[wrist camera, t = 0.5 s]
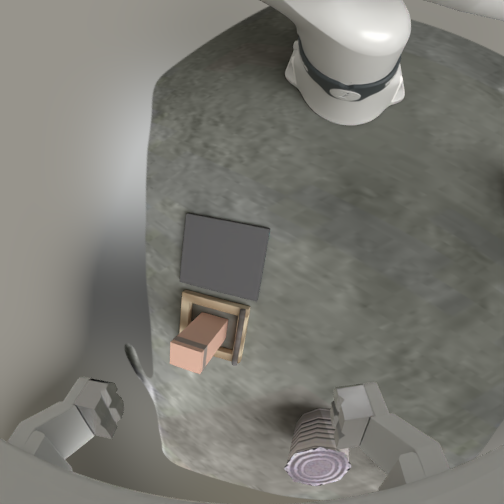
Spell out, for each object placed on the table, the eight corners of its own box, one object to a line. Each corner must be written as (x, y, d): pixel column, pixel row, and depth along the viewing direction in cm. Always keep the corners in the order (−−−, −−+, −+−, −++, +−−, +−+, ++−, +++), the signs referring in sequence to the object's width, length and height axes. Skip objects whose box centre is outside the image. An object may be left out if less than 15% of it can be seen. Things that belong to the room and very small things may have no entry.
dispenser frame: (186, 289, 53) (179, 293, 50) (250, 306, 50) (246, 312, 48) (182, 341, 55) (176, 347, 53) (241, 359, 53) (237, 366, 50)
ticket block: (201, 311, 53) (170, 341, 41) (228, 319, 52) (202, 352, 40) (199, 331, 54) (169, 363, 42) (225, 338, 53) (200, 374, 41)
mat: (188, 213, 49) (186, 213, 49) (270, 228, 47) (269, 229, 46) (181, 280, 52) (179, 281, 52) (257, 299, 50) (256, 301, 49)
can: (285, 417, 53) (274, 460, 42) (337, 400, 50) (335, 444, 39) (309, 449, 54) (302, 490, 43) (358, 434, 50) (358, 477, 39)
